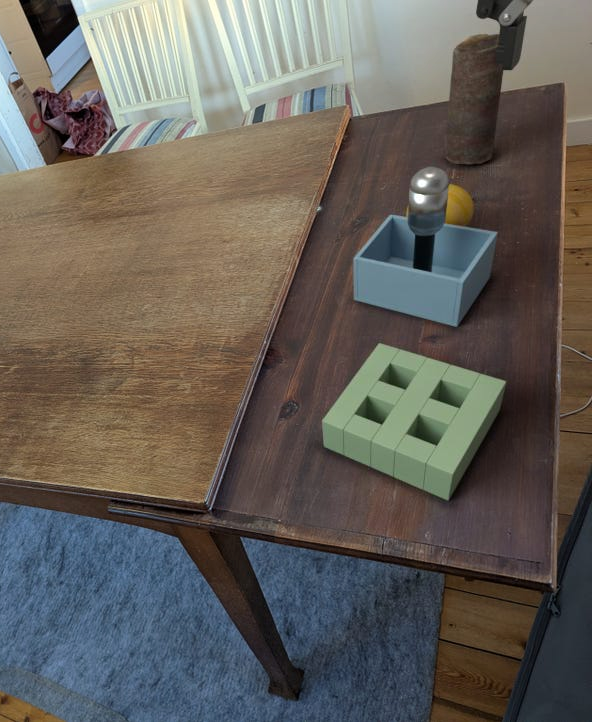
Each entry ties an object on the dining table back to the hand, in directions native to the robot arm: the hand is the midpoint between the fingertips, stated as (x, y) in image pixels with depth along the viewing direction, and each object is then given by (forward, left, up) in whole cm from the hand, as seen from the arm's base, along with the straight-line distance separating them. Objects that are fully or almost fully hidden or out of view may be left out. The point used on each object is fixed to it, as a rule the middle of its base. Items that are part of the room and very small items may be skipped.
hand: (568, 66), depth 50 cm
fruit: (+17, -23, -36) cm, 46 cm away
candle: (+21, -45, -36) cm, 61 cm away
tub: (+14, -10, -36) cm, 40 cm away
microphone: (+14, -10, -35) cm, 39 cm away
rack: (+5, +14, -36) cm, 39 cm away
